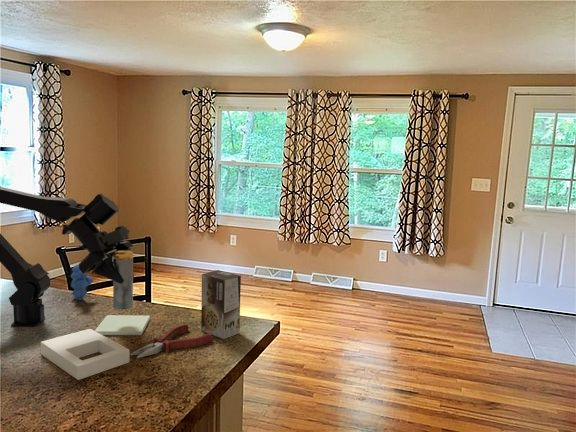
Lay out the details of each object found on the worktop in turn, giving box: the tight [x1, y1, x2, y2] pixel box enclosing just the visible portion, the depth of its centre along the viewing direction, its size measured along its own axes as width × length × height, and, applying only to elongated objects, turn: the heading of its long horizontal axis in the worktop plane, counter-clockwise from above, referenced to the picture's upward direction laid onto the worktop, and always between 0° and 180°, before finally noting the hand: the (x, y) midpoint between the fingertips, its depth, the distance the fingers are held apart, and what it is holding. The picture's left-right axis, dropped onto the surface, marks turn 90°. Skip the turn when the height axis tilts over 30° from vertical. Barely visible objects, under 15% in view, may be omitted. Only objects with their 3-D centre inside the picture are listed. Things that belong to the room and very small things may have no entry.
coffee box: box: [200, 269, 242, 340], centre depth 127 cm, size 9×6×16 cm
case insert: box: [40, 328, 130, 381], centre depth 109 cm, size 18×12×3 cm, turn 50°
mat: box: [94, 314, 151, 336], centre depth 129 cm, size 12×12×1 cm
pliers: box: [129, 324, 213, 359], centre depth 118 cm, size 12×20×3 cm, turn 142°
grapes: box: [70, 264, 94, 301], centre depth 149 cm, size 12×7×12 cm, turn 37°
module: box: [112, 250, 134, 311], centre depth 127 cm, size 5×5×15 cm
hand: (127, 279), depth 127 cm, fingers closed on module, 5 cm apart
